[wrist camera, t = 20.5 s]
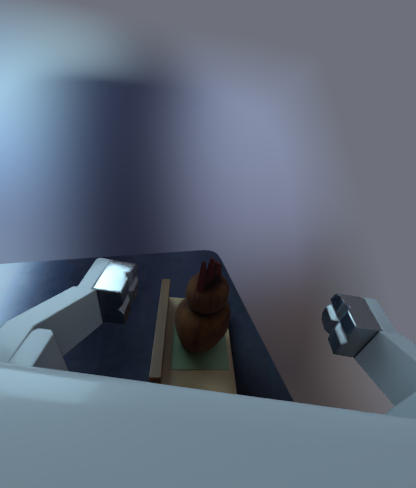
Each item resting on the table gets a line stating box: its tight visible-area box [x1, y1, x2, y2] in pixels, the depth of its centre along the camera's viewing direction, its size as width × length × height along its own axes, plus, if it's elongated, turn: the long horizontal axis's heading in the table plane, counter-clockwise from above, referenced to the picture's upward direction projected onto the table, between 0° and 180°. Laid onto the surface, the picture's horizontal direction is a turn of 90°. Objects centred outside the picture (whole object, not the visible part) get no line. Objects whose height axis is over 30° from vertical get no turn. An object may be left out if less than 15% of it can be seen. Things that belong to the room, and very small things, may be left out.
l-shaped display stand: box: [149, 279, 237, 394], centre depth 33 cm, size 10×14×7 cm
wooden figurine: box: [174, 257, 231, 353], centre depth 29 cm, size 7×6×15 cm
